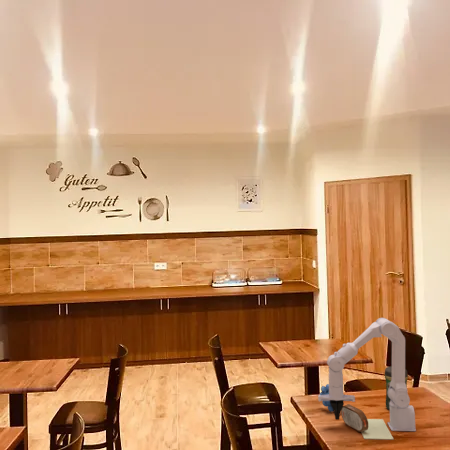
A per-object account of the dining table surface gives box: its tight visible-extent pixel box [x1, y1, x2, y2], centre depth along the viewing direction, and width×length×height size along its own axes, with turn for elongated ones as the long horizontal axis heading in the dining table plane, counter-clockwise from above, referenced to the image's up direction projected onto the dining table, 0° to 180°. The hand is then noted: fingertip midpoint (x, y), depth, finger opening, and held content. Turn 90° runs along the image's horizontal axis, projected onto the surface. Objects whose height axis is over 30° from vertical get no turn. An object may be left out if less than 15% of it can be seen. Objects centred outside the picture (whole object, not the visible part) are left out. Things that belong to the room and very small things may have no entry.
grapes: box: [319, 383, 337, 413], centre depth 218 cm, size 12×7×12 cm, turn 46°
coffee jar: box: [384, 365, 409, 411], centre depth 220 cm, size 10×8×19 cm
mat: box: [360, 418, 395, 441], centre depth 198 cm, size 11×20×1 cm, turn 174°
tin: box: [340, 403, 368, 433], centre depth 199 cm, size 15×3×8 cm, turn 22°
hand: (337, 418), depth 200 cm, fingers closed
